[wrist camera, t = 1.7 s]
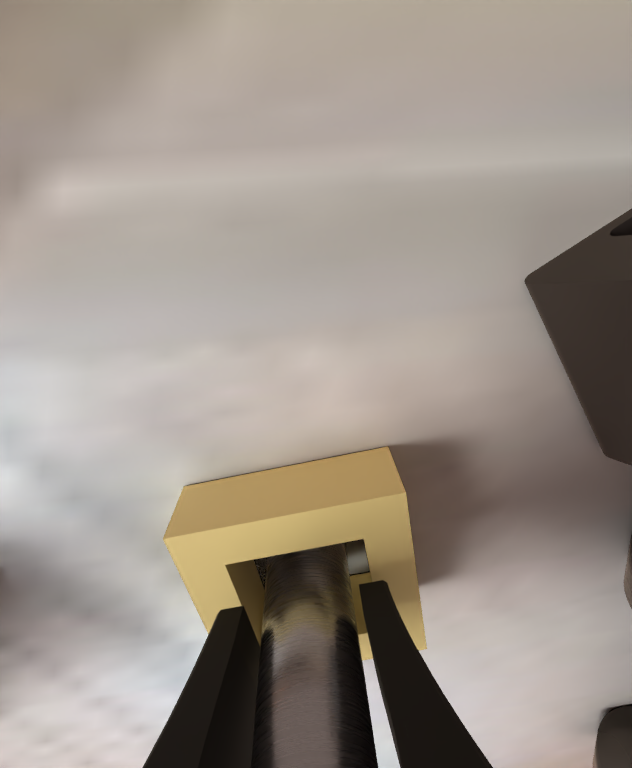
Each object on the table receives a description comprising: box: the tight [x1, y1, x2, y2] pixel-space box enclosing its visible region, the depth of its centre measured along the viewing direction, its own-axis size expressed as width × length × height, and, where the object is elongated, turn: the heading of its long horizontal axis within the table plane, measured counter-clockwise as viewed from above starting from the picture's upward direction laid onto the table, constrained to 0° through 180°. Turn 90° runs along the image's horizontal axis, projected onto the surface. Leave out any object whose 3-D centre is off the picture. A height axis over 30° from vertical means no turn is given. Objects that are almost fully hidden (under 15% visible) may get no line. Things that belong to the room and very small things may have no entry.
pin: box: [251, 543, 378, 768], centre depth 9 cm, size 3×3×8 cm
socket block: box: [163, 447, 427, 660], centre depth 12 cm, size 6×6×2 cm
